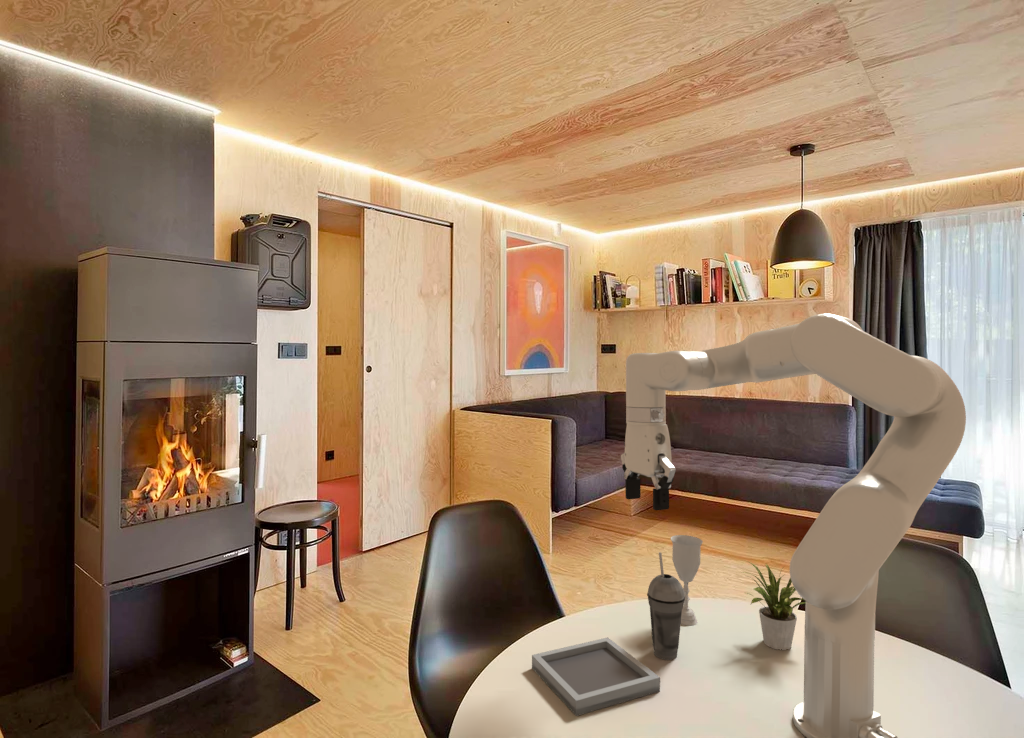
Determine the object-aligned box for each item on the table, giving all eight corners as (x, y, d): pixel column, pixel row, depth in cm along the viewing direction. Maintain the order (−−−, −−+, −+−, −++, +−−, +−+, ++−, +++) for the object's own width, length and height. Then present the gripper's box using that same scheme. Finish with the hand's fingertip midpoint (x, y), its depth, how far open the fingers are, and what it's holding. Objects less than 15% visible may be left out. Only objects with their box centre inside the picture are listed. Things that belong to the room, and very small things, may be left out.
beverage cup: (686, 665, 110) (687, 560, 109) (647, 661, 111) (647, 557, 111) (682, 646, 117) (683, 548, 116) (645, 643, 118) (646, 546, 118)
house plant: (719, 636, 121) (720, 559, 121) (758, 620, 129) (759, 548, 129) (783, 667, 109) (784, 581, 109) (822, 647, 117) (823, 567, 117)
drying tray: (659, 691, 101) (660, 677, 101) (576, 715, 94) (576, 700, 94) (607, 649, 115) (607, 637, 115) (531, 668, 108) (531, 654, 108)
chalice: (663, 615, 131) (664, 536, 131) (689, 611, 133) (689, 533, 133) (682, 629, 124) (682, 546, 124) (708, 625, 126) (709, 543, 126)
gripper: (689, 418, 106) (690, 512, 106) (638, 412, 122) (638, 493, 122) (654, 420, 103) (655, 516, 103) (606, 413, 119) (607, 496, 119)
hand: (646, 503), depth 112 cm, fingers open, 9 cm apart
